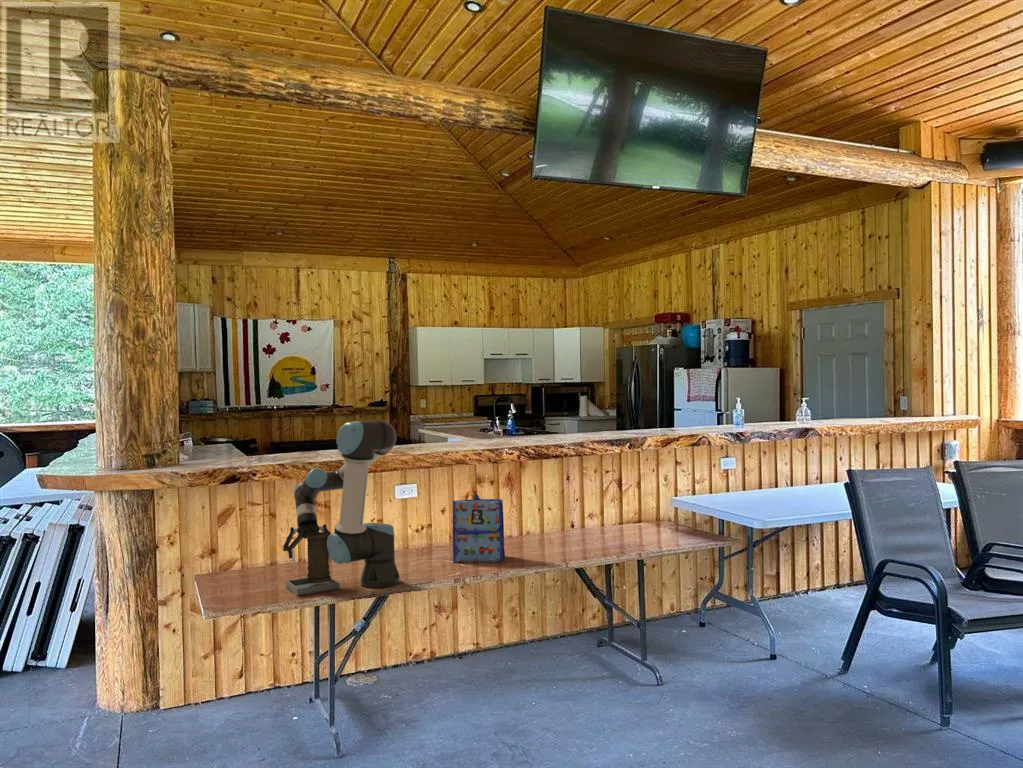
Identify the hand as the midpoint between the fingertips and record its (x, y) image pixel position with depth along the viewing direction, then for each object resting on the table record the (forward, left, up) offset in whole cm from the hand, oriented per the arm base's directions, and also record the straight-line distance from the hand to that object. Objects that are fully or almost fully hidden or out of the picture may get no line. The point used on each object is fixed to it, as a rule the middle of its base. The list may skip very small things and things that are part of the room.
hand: (312, 562), depth 285 cm
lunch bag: (-75, -5, -10) cm, 76 cm away
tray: (0, -2, -10) cm, 10 cm away
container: (-3, -3, -8) cm, 9 cm away
